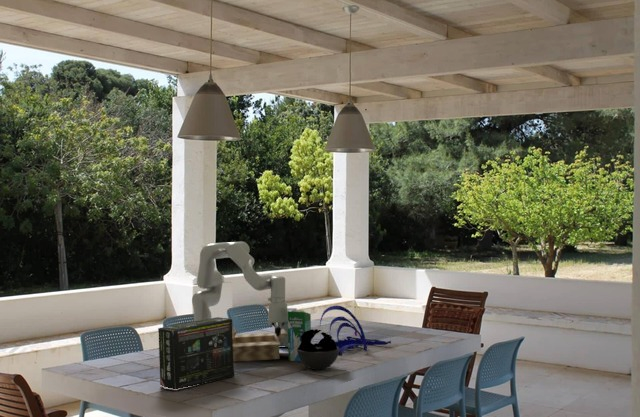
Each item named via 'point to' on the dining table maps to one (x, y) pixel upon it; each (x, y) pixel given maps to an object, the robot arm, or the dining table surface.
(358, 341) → the sculpture
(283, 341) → the hard drive box
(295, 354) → the milk carton
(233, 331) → the left flap
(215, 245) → the robot arm
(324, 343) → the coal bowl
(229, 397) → the dining table surface
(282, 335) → the right flap
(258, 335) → the carton
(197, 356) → the router box
